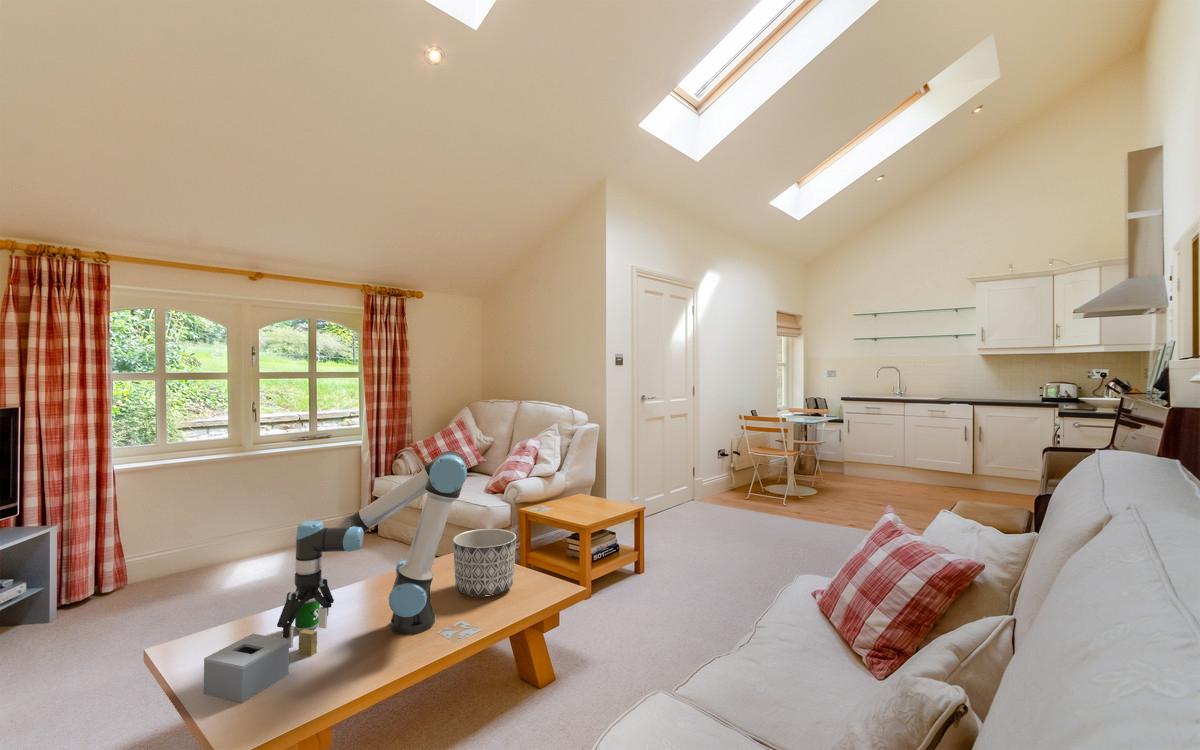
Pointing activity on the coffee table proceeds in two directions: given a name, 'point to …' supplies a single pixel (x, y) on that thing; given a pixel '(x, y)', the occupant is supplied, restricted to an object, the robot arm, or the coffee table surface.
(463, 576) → the planter
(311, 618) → the soda can
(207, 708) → the coffee table surface
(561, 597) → the coffee table surface
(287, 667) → the box
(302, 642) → the block
